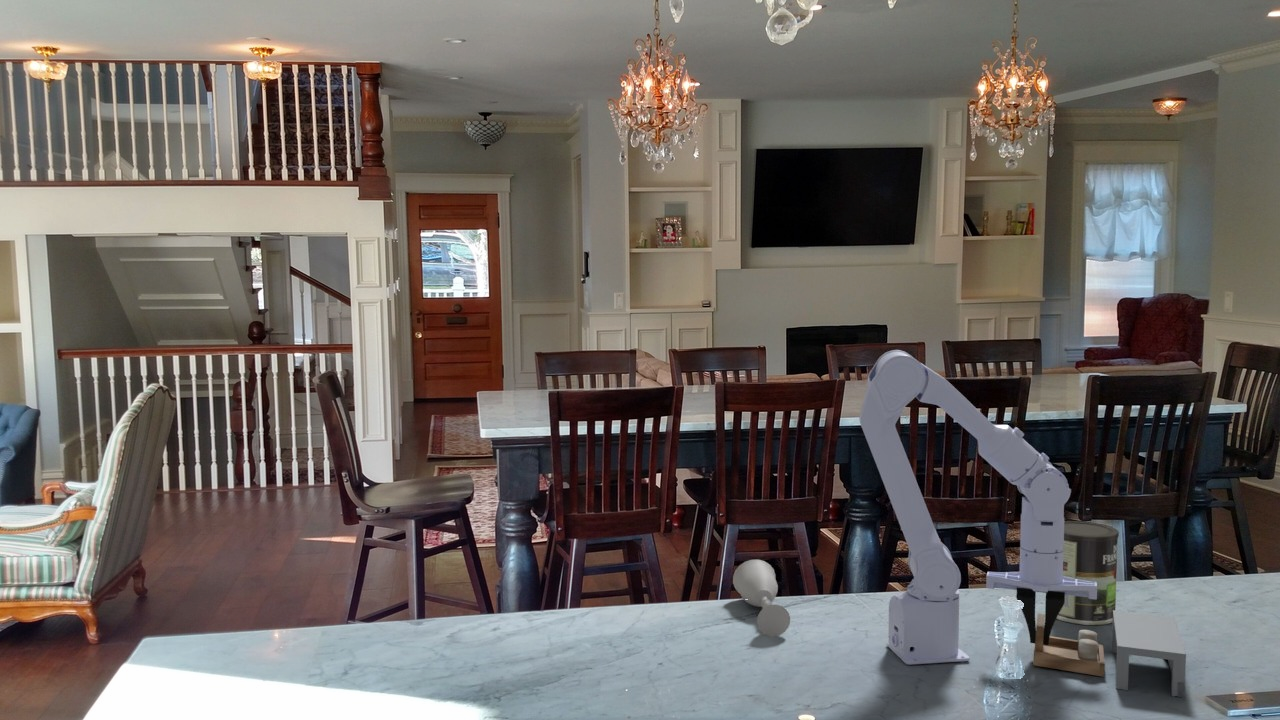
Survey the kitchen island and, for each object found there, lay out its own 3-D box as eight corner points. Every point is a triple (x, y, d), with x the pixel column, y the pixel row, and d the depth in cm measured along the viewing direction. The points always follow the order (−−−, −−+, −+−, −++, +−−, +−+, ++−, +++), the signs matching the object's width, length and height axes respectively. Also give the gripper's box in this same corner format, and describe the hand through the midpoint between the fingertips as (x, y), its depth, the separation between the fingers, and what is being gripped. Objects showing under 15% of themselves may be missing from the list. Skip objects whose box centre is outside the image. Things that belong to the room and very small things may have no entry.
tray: (1032, 665, 142) (1035, 628, 142) (1034, 645, 150) (1036, 611, 149) (1103, 676, 139) (1106, 639, 139) (1101, 656, 146) (1104, 621, 146)
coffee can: (1122, 612, 165) (1125, 526, 164) (1107, 630, 157) (1110, 540, 155) (1056, 600, 171) (1058, 517, 170) (1037, 617, 163) (1039, 530, 162)
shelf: (1116, 688, 135) (1117, 645, 135) (1111, 649, 149) (1112, 610, 149) (1184, 697, 132) (1186, 654, 132) (1173, 656, 146) (1174, 616, 146)
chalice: (800, 637, 156) (778, 594, 174) (794, 595, 155) (772, 556, 173) (752, 645, 156) (735, 601, 174) (746, 603, 155) (730, 563, 173)
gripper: (985, 550, 144) (983, 644, 145) (1098, 560, 138) (1095, 658, 139) (988, 538, 150) (987, 628, 151) (1097, 547, 145) (1094, 640, 146)
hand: (1039, 641), depth 146 cm, fingers closed on tray
